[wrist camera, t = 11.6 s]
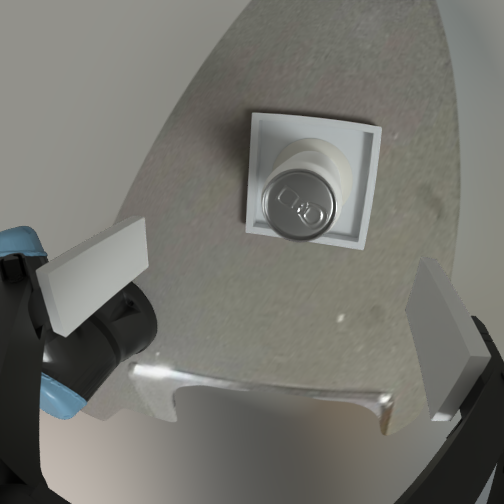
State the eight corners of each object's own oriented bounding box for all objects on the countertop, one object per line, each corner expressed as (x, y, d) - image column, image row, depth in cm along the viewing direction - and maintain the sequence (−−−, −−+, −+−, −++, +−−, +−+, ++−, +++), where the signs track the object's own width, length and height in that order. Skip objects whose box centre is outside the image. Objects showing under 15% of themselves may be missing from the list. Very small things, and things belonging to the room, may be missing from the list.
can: (317, 219, 35) (308, 263, 24) (270, 185, 35) (240, 214, 24) (352, 174, 32) (361, 199, 21) (303, 138, 32) (287, 144, 21)
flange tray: (250, 226, 38) (245, 232, 36) (256, 113, 33) (252, 112, 31) (362, 243, 35) (363, 250, 33) (379, 127, 30) (381, 127, 28)
